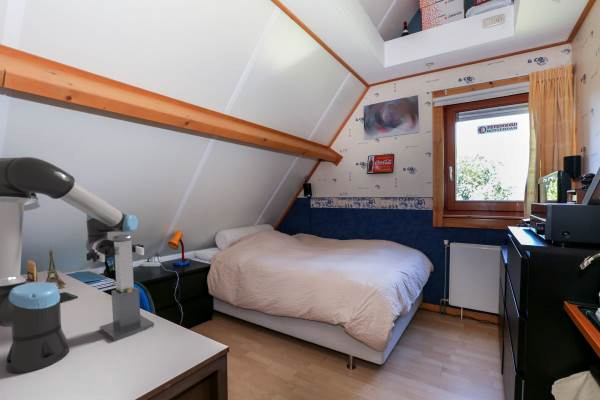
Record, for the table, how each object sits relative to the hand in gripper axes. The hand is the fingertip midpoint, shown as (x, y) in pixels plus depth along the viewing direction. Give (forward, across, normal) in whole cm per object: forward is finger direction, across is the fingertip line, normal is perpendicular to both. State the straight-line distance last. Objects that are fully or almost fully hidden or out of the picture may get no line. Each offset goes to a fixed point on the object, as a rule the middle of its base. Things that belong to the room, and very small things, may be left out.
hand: (124, 254), depth 113 cm
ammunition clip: (-116, +12, -29) cm, 121 cm away
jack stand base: (0, 0, -28) cm, 28 cm away
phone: (-62, +8, -29) cm, 69 cm away
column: (0, 0, -20) cm, 20 cm away
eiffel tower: (-87, +8, -29) cm, 92 cm away
